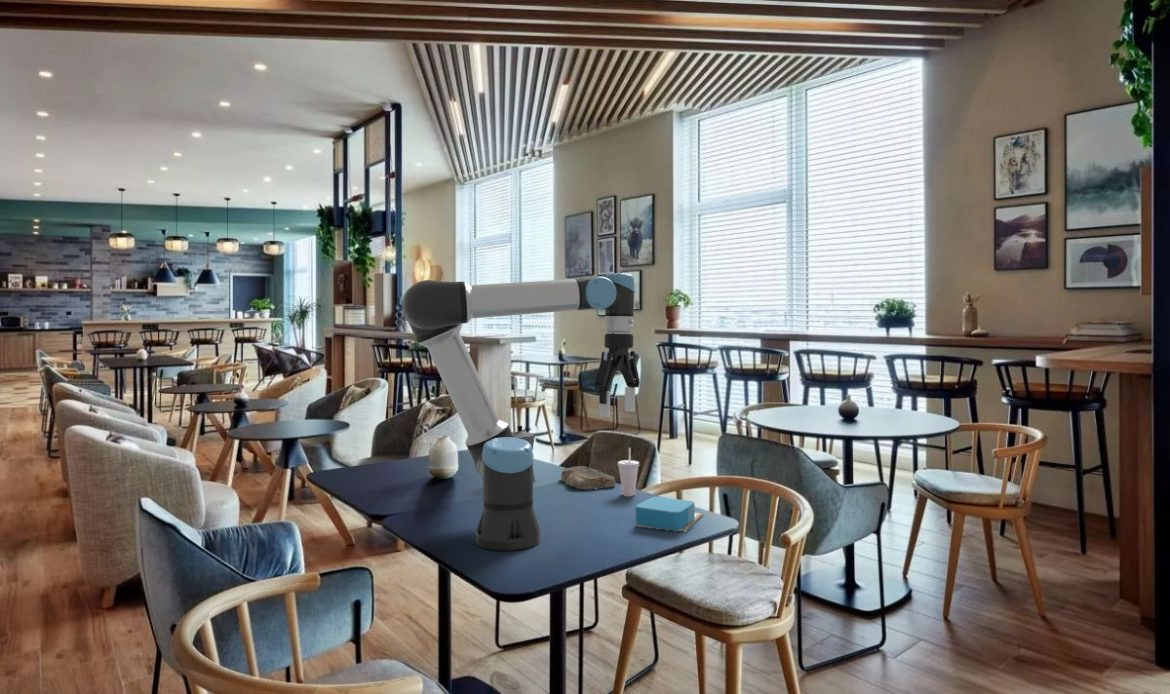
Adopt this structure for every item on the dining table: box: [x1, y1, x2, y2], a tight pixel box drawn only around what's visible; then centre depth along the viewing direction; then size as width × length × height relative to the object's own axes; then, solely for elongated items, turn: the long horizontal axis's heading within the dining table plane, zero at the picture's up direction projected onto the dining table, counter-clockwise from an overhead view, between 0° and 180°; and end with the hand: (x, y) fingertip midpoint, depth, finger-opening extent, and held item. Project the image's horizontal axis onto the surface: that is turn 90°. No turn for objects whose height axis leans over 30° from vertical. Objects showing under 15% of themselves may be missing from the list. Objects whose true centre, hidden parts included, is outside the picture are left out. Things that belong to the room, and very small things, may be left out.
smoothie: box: [617, 447, 640, 497], centre depth 212 cm, size 6×6×14 cm
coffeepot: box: [512, 425, 536, 483], centre depth 231 cm, size 15×9×18 cm, turn 177°
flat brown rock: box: [560, 465, 617, 490], centre depth 229 cm, size 14×5×20 cm
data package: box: [635, 496, 695, 531], centre depth 182 cm, size 12×4×12 cm
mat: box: [634, 512, 704, 532], centre depth 185 cm, size 16×13×1 cm
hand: (617, 414), depth 190 cm, fingers open, 13 cm apart
